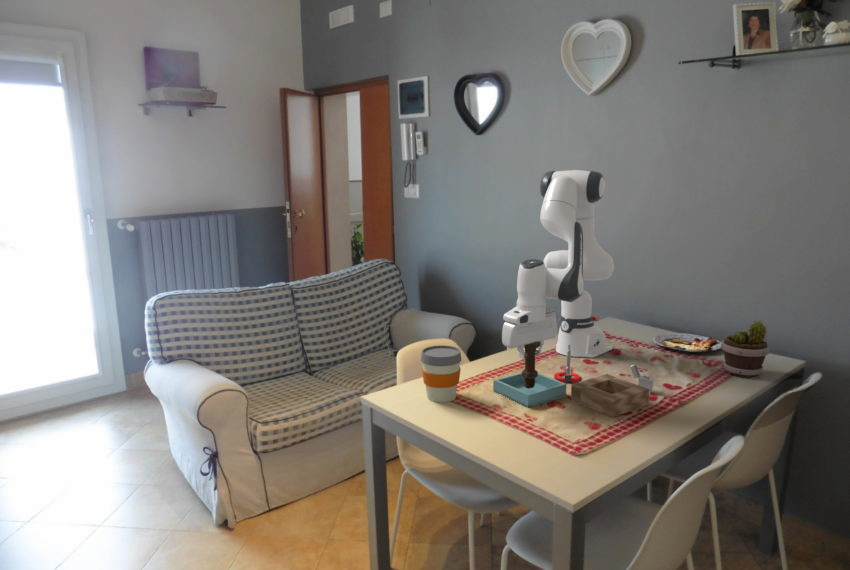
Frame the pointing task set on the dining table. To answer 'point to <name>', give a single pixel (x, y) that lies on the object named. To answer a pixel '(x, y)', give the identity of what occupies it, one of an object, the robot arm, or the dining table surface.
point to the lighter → (642, 378)
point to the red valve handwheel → (567, 372)
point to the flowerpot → (746, 351)
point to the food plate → (685, 345)
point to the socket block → (610, 395)
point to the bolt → (530, 365)
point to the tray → (530, 397)
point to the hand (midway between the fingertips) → (530, 356)
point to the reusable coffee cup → (441, 372)
